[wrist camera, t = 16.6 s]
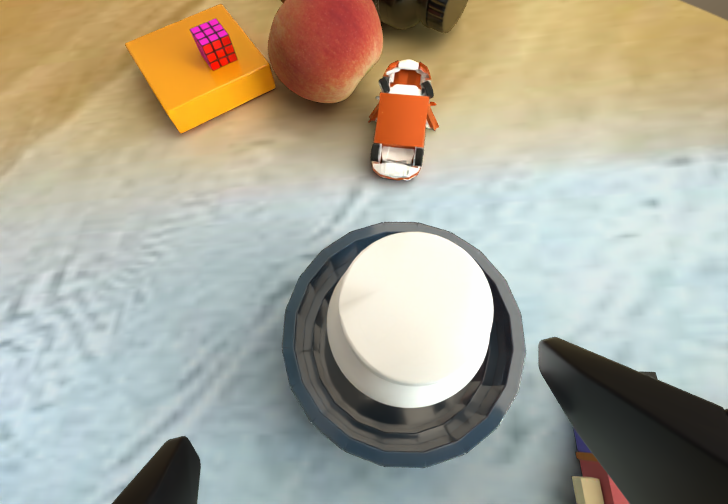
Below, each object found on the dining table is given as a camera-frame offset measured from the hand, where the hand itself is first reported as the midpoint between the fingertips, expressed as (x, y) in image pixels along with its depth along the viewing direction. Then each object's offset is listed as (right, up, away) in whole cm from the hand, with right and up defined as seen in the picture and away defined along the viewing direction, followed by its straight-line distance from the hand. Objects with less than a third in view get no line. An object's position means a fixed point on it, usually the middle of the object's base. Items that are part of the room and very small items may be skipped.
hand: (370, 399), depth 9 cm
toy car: (+2, +13, +15) cm, 20 cm away
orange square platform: (-13, +17, +20) cm, 29 cm away
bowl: (+2, -2, +13) cm, 13 cm away
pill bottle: (+2, -2, +12) cm, 13 cm away
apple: (0, +16, +17) cm, 24 cm away
